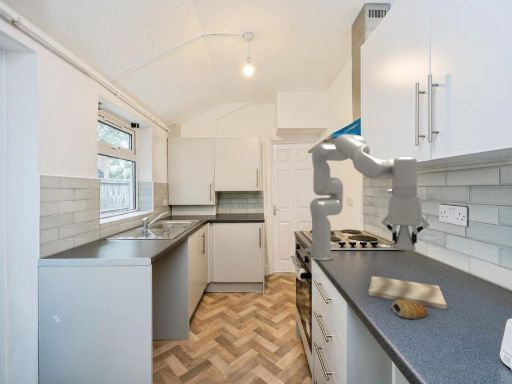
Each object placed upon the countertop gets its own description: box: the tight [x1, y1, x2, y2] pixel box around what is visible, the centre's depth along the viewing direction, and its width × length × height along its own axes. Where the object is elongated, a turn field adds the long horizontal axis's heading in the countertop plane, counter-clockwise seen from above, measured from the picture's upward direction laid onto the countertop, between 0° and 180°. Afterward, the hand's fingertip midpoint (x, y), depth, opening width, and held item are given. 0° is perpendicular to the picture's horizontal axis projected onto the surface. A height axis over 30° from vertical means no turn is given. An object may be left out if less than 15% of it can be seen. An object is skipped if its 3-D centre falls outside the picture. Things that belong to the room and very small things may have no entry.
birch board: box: [368, 275, 448, 311], centre depth 89 cm, size 22×16×2 cm
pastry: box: [390, 300, 429, 320], centre depth 75 cm, size 9×7×4 cm
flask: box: [392, 225, 417, 252], centre depth 89 cm, size 7×7×10 cm
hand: (404, 243), depth 89 cm, fingers closed on flask, 4 cm apart
